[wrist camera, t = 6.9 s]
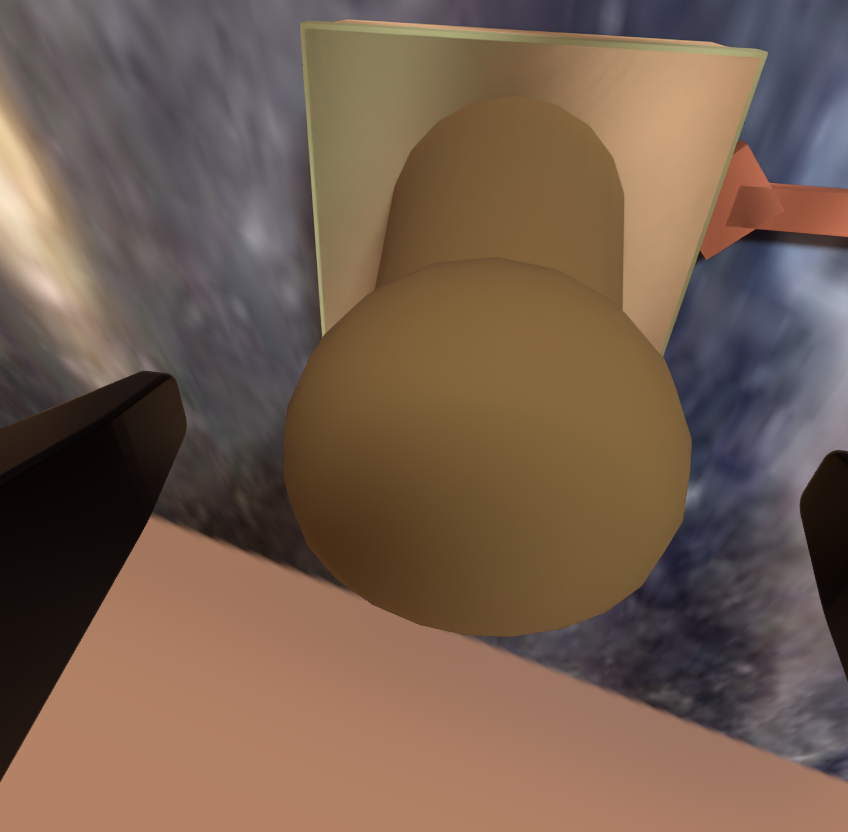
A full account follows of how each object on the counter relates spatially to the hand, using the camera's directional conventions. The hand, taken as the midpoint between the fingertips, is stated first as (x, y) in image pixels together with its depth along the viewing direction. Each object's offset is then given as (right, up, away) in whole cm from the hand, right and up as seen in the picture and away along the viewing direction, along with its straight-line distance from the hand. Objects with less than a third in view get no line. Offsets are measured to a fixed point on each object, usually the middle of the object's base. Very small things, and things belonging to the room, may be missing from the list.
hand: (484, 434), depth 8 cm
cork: (+1, +5, +7) cm, 9 cm away
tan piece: (+5, +4, +12) cm, 14 cm away
